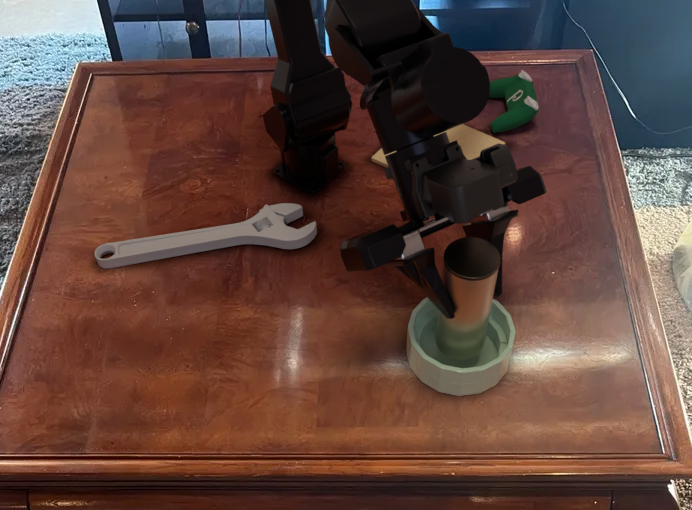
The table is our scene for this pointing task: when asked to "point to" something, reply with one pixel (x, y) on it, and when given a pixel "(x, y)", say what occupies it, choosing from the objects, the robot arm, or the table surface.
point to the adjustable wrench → (214, 238)
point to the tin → (467, 296)
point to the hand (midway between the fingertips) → (474, 307)
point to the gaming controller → (514, 101)
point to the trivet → (466, 138)
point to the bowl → (454, 372)
